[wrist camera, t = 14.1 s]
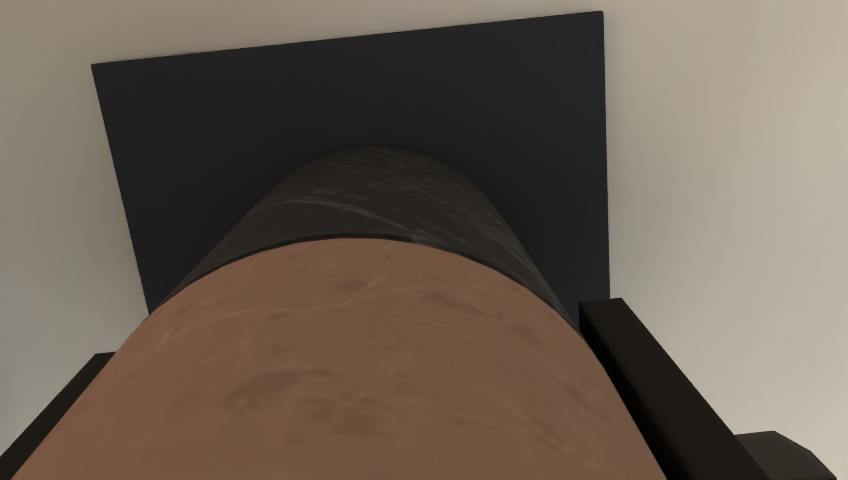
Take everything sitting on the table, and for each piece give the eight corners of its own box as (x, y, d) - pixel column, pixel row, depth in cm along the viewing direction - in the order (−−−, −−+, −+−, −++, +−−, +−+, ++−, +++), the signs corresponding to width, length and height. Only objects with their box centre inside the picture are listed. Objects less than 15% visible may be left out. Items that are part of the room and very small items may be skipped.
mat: (96, 63, 17) (89, 64, 16) (599, 10, 17) (603, 10, 16) (195, 490, 20) (191, 499, 20) (610, 446, 20) (614, 454, 20)
